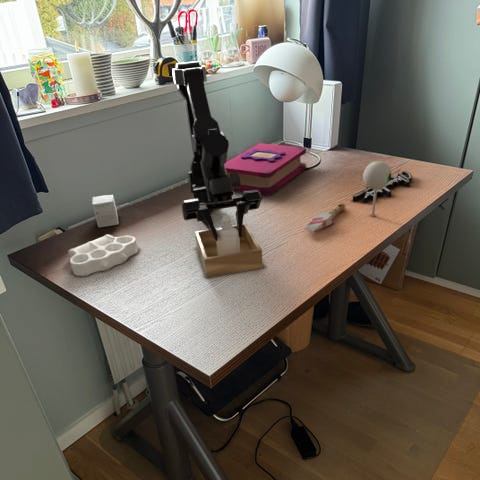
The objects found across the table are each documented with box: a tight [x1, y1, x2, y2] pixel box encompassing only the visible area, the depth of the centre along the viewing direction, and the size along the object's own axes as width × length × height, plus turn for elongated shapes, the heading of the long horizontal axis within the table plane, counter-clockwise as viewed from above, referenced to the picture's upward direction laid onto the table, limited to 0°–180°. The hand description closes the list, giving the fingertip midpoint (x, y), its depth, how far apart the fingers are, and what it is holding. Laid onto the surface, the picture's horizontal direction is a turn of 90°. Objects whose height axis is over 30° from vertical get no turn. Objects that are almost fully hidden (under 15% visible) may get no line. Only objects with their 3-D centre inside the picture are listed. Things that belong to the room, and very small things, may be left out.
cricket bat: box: [303, 202, 346, 232], centre depth 129 cm, size 4×3×20 cm
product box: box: [91, 194, 119, 229], centre depth 137 cm, size 6×6×7 cm
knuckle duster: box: [67, 234, 139, 277], centre depth 120 cm, size 3×18×15 cm
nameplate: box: [352, 170, 413, 204], centre depth 145 cm, size 28×2×10 cm
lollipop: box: [362, 160, 392, 217], centre depth 126 cm, size 7×7×15 cm
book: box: [225, 142, 307, 196], centre depth 160 cm, size 21×28×8 cm
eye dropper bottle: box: [216, 212, 241, 256], centre depth 112 cm, size 4×6×12 cm
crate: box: [194, 222, 264, 278], centre depth 115 cm, size 16×14×5 cm
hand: (228, 238), depth 111 cm, fingers closed on eye dropper bottle, 5 cm apart
